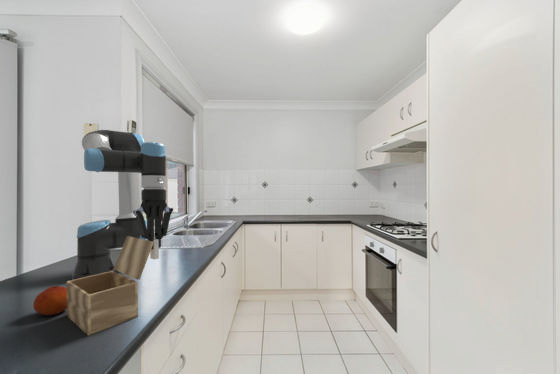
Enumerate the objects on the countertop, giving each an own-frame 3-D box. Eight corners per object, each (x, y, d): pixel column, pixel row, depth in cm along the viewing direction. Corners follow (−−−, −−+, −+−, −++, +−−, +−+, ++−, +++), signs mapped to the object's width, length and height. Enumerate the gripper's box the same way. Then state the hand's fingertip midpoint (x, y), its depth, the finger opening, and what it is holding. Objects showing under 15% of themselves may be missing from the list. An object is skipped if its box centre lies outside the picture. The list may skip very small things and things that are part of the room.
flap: (127, 235, 90) (129, 236, 90) (113, 269, 86) (115, 269, 86) (152, 241, 79) (154, 241, 80) (137, 279, 76) (139, 279, 76)
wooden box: (66, 315, 76) (66, 281, 77) (112, 301, 86) (112, 270, 86) (88, 335, 66) (87, 295, 66) (137, 316, 75) (137, 281, 75)
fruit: (80, 307, 82) (80, 281, 82) (49, 321, 73) (49, 292, 73) (58, 305, 84) (58, 280, 84) (26, 318, 75) (26, 290, 75)
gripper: (139, 188, 81) (140, 264, 81) (177, 188, 91) (178, 255, 91) (128, 188, 86) (129, 261, 85) (166, 188, 96) (166, 253, 96)
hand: (154, 258), depth 88 cm, fingers closed
